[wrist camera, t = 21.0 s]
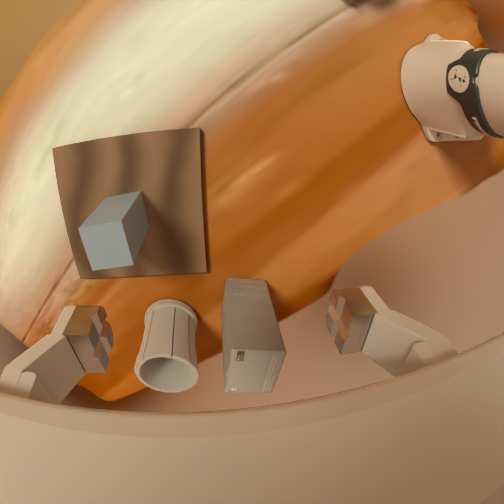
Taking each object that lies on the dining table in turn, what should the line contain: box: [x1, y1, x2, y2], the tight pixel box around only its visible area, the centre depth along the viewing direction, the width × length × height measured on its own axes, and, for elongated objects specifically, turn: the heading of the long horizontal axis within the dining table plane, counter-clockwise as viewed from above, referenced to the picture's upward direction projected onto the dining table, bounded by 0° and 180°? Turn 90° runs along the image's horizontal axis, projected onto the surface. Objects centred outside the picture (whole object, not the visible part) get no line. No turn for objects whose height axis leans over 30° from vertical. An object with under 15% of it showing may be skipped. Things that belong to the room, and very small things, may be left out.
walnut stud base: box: [53, 128, 207, 279], centre depth 34 cm, size 20×20×7 cm
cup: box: [134, 299, 199, 393], centre depth 41 cm, size 10×9×12 cm
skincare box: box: [222, 278, 286, 393], centre depth 39 cm, size 8×7×16 cm
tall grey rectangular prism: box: [78, 191, 149, 271], centre depth 31 cm, size 5×5×10 cm
